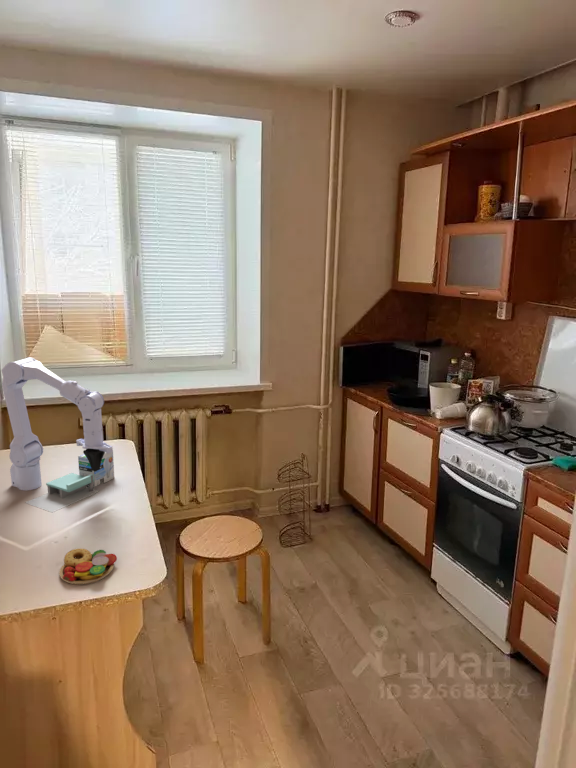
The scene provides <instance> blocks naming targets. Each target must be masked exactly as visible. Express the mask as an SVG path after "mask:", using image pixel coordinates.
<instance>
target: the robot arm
mask: <svg viewBox="0 0 576 768" xmlns="http://www.w3.org/2000/svg"><path fill="white" fill-rule="evenodd" d="M1 372H2V382H1V387H2V392H3V396H4V400H5V404H6V409H7V413H8V416H9V417H8V418H9V421H10V426H11V431H12V434H13V439H12V440H11V442H10V444H9V450H10V452H9V459H10V462H11V463H12V464H11V465H10V466H11V467H10V469H9V470H10V471H9V472H10V481H11V482H10V483H11V486H12V487H15V488H17V489H18V490H20V491H32V490H36V489H38V488H40V487H41V486H42V474H41V472H42V471H41V463H40V462H41V456H42V455H43V453H44V447H43V445H42V443H41V441H40V439H39V436H38V435H36V434H34V433H33V431H32V428H31V427H32V426H31V421H30V419H29V418H30V417H29V414H28V409H27V404H26V400H25V396H24V392H23V387H24V385H25V384H27V382H28V381H30V380H39V381H40V382H42V383H44V384H46V385H48V386H50V387H52V388H54V389H56V390H58V391H59V394H60V396H61V397H63V398H64V399H66V400H67V401H69V402H71V403H72V404H75V405H76V406H77V408H78V410H79V412H80V413H81V417H82V428H83V438H78V439H76V440H75V441H76V446H77V447H82V449H83V452H82V454H85V456H86V457H87V459H88V461H89V463H90V466H91V469H92V471H97V470H99V469H100V465H101V461H102V458H103V455H104V453H105V452H106V453H107V454H109V453H111V452H113V453H114V450H113V449H114V448H113V446H112V445H109V444H108V443H107V442H105V441H104V431H103V429H104V428H103V416H102V408H103V407H104V404H105V399H104V396H103V395H102V394H101V393H100V392H99V391H95V390H93V391H91V390H90V389H88V388H85V387H83V386H82V385H80V384H78V383H79V382H78V381H76V380H70V379H69V380H64V379H63V378H62V377H60V376H58V375H57V374H56V373H54V372H53V371H51V370H50V369H48V368H46V367H45V366H44V365H43V363H42V362H41V361H39V360H37V359H36V358H34V357H31V356H30V357H28V356H27V357H25V358H22V359H18V360H16V361H15V360H14V361H10V362H7V363H6V364H5V366H3V368H2V369H1Z"/></svg>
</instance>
